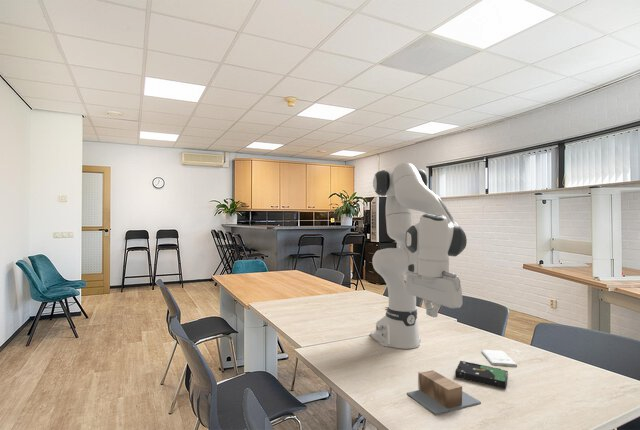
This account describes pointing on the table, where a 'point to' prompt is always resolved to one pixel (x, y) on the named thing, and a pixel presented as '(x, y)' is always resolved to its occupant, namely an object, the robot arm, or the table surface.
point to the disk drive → (482, 374)
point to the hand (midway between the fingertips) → (431, 316)
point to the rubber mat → (439, 408)
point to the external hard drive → (498, 358)
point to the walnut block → (440, 388)
